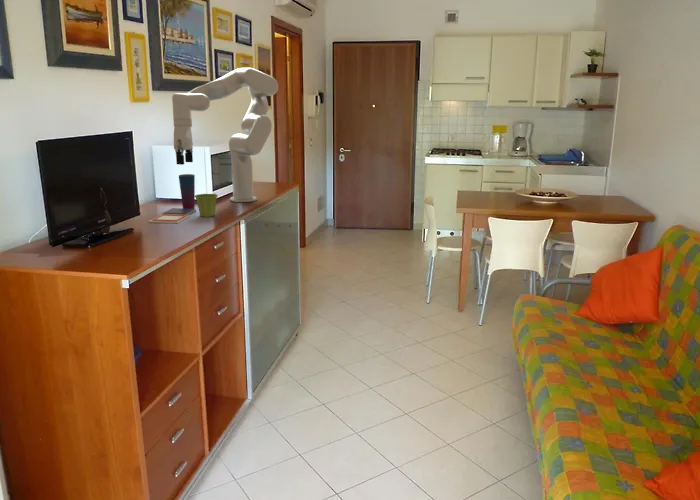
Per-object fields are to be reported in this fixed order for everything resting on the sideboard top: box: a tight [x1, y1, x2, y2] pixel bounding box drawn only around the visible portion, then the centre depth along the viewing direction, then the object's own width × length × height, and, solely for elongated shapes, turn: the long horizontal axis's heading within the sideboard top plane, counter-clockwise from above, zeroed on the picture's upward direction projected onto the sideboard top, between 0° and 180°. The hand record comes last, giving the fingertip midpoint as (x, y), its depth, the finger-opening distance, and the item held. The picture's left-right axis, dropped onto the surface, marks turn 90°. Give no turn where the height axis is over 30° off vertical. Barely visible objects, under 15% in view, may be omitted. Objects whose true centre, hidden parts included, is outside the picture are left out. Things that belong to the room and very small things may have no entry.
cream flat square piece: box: [148, 214, 190, 224], centre depth 230 cm, size 12×12×1 cm
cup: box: [178, 173, 196, 209], centre depth 250 cm, size 7×7×15 cm
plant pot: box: [195, 193, 219, 218], centre depth 237 cm, size 9×9×9 cm
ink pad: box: [160, 207, 197, 216], centre depth 242 cm, size 11×11×1 cm
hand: (184, 163), depth 247 cm, fingers open, 9 cm apart
